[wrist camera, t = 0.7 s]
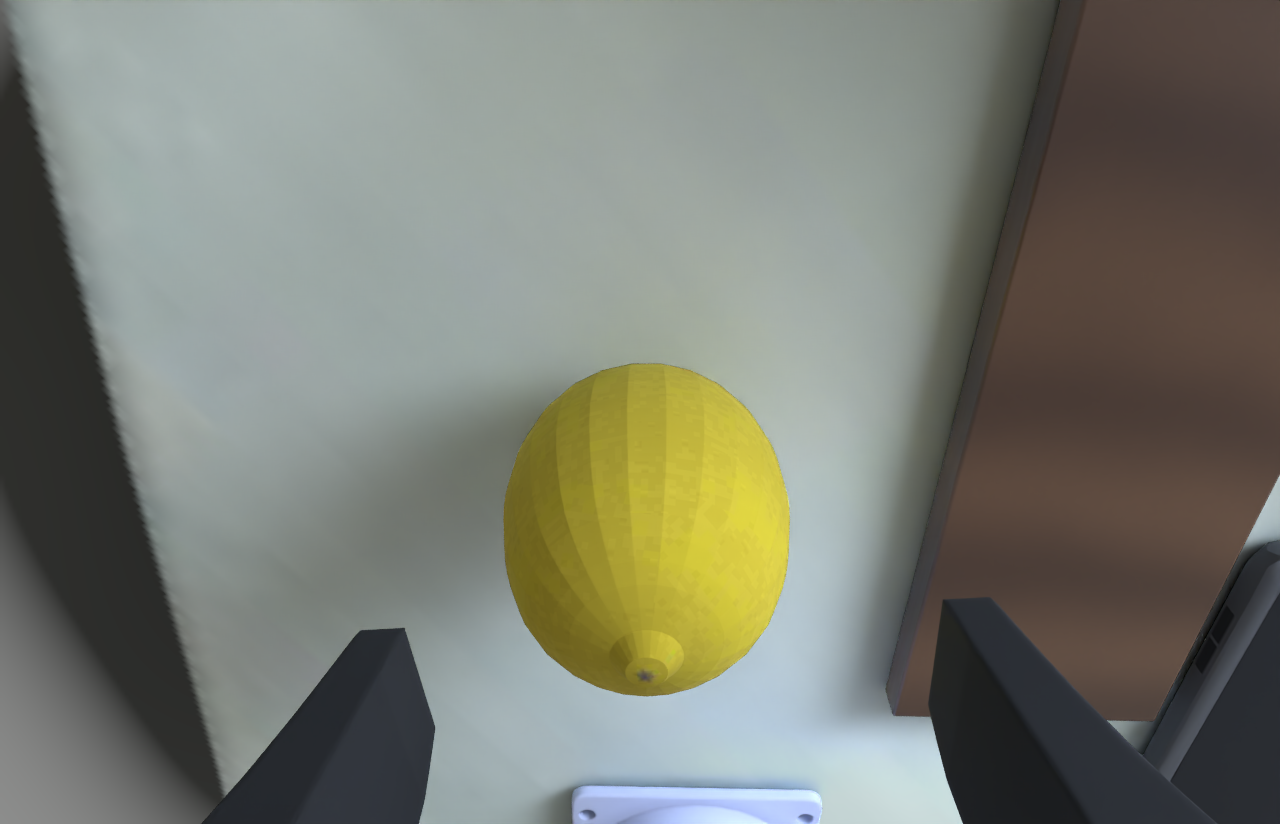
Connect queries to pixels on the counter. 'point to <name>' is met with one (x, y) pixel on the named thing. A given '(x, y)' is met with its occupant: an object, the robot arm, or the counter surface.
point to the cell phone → (1231, 706)
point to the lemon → (646, 530)
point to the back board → (1120, 355)
